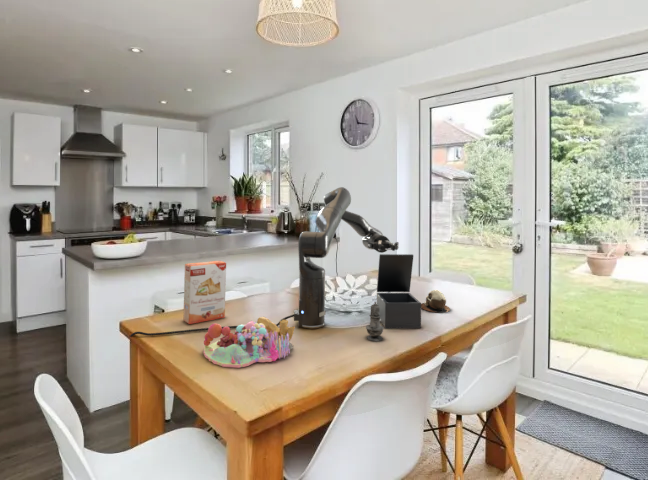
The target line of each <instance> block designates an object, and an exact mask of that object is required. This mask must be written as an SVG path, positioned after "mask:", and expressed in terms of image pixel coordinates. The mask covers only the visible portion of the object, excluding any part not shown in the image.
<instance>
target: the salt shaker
mask: <svg viewBox="0 0 648 480" xmlns="http://www.w3.org/2000/svg"><path fill="white" fill-rule="evenodd" d="M379 314H380V307H379V305H377V301H374V303H373V304H371V305H370V314H369V317H370V318H369V319H370V320H369V324H367V325H366V326H365V329H366V332H367V334H368V335H367V336H366V340H368V341H371V342H381V341H383V340H384V338H383V336H381V335H382V334H383V332H384V330H385V328H384V326H383V325H382V324H381V322H380V317H381V316H380V315H379Z"/></svg>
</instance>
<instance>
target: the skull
mask: <svg viewBox="0 0 648 480" xmlns="http://www.w3.org/2000/svg"><path fill="white" fill-rule="evenodd" d="M446 304H447V299H446V295H444V293H442V291H440V290H438V289H433V290H431V291H429V292H428V294H427V295H426V297H425V301H424V302H421V309H422V310H425V311H428V312H432V313H438V314H439V313H440V314H441V313H442V314H443V313H447V312H450V311H451V308H450V307H449V306H448V305H446Z"/></svg>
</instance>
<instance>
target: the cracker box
mask: <svg viewBox="0 0 648 480" xmlns="http://www.w3.org/2000/svg"><path fill="white" fill-rule="evenodd" d="M226 283H227V262H226V261H222V260H214V261H213V260H212V261H211V260H210V261H200V262H190V263H185V264H184V283H183V316H182V317H183V321H184V322H185V323H186V324H188V325H192V324H198V323H204V322H208V321H213V320H220V319H224V318H226V288H227V287H226V285H227V284H226Z"/></svg>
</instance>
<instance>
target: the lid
mask: <svg viewBox="0 0 648 480" xmlns="http://www.w3.org/2000/svg"><path fill="white" fill-rule="evenodd" d="M378 257H379V258H378V267H377V268H378V271H377V281H376V293H410V292H411V283H412V282H411V281H412V275H413V264H414V263H413V262H414V254H411V253H410V254H409V253H408V254H405V253H404V254H402V253H397V254H396V253H395V254H393V253H392V254H391V253H389V254H388V253H385V254H384V253H380V254H379V256H378Z"/></svg>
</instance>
